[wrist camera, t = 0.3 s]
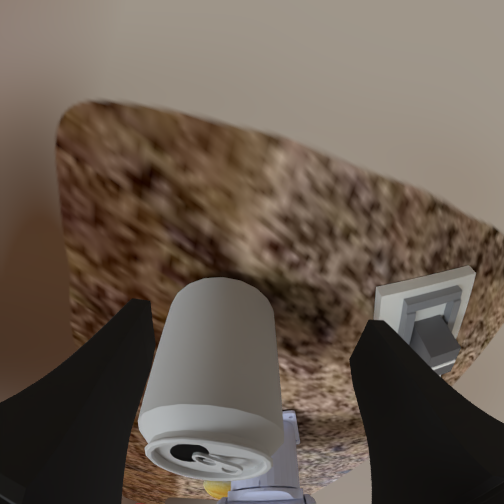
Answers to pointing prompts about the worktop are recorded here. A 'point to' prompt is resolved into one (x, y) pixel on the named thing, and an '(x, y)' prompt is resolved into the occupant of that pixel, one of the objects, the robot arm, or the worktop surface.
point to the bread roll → (217, 488)
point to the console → (425, 300)
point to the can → (215, 385)
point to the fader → (435, 343)
